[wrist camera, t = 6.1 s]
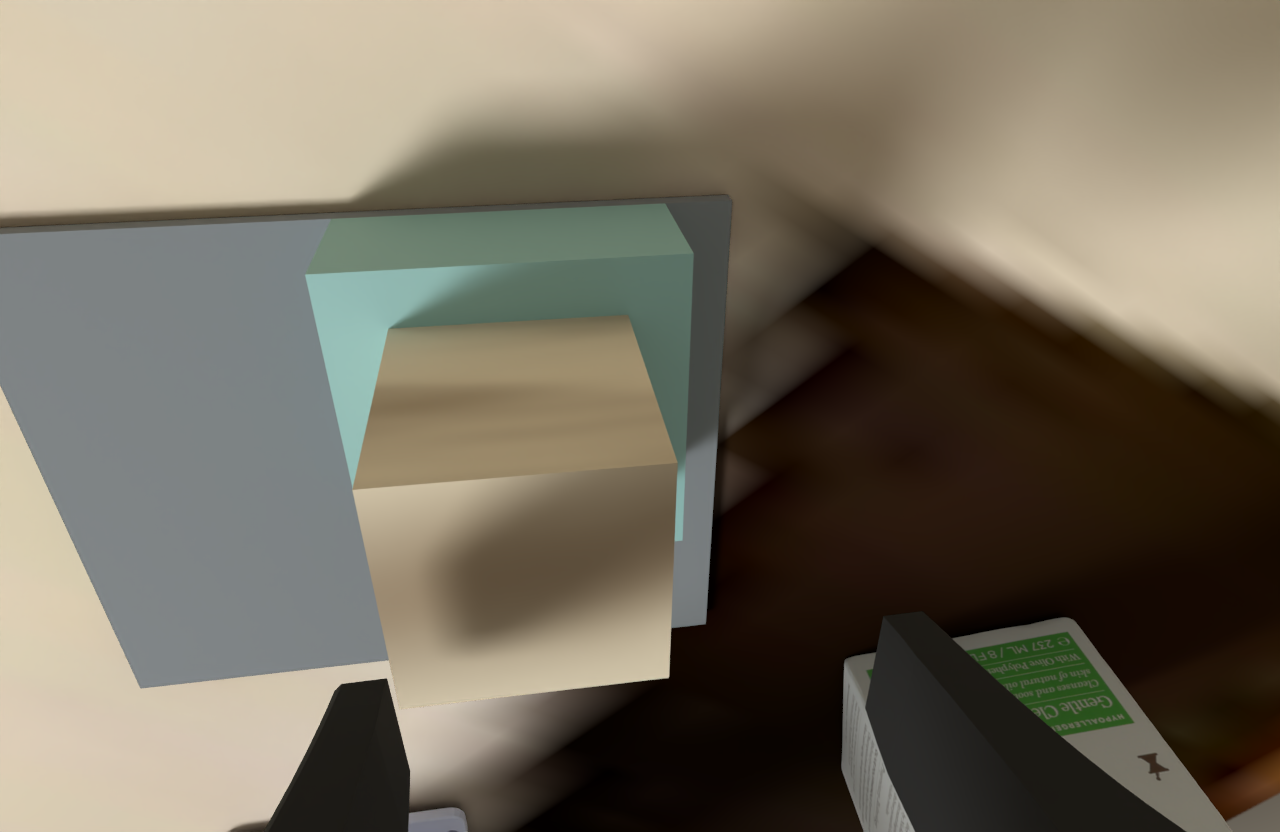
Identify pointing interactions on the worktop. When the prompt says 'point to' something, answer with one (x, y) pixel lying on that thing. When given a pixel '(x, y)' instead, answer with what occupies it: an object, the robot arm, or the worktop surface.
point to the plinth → (503, 292)
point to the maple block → (518, 509)
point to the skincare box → (1064, 699)
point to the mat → (245, 432)
